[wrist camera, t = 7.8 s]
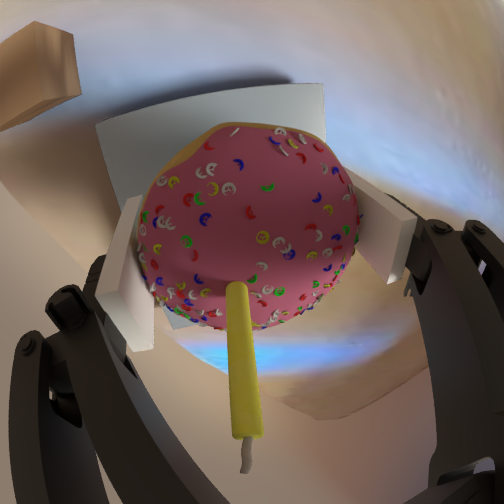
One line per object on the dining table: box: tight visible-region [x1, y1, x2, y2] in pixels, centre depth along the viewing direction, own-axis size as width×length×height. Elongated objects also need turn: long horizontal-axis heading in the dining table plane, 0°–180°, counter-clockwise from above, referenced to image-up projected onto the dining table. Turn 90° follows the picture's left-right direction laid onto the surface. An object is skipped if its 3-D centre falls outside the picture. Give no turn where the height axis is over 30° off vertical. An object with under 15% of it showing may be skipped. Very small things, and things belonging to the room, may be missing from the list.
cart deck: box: [95, 83, 326, 330], centre depth 20 cm, size 18×14×3 cm
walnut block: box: [0, 21, 82, 132], centre depth 9 cm, size 5×5×6 cm
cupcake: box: [137, 122, 363, 474], centre depth 9 cm, size 9×8×12 cm
